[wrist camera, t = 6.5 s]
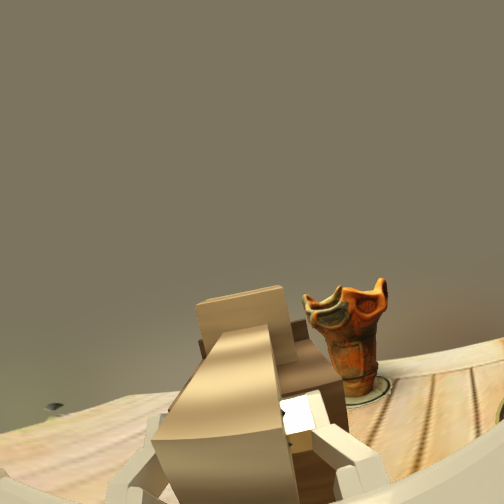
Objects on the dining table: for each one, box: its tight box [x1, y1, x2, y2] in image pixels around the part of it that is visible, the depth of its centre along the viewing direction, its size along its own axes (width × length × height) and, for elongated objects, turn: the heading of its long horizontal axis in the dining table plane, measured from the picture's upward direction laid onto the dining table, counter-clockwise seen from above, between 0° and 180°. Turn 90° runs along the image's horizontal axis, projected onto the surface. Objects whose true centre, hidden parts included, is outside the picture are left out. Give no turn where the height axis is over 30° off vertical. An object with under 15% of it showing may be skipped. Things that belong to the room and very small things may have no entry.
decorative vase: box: [302, 278, 393, 408], centre depth 63 cm, size 21×23×28 cm
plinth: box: [168, 319, 349, 504], centre depth 21 cm, size 13×11×28 cm
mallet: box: [150, 285, 300, 504], centre depth 17 cm, size 22×7×6 cm, turn 178°
